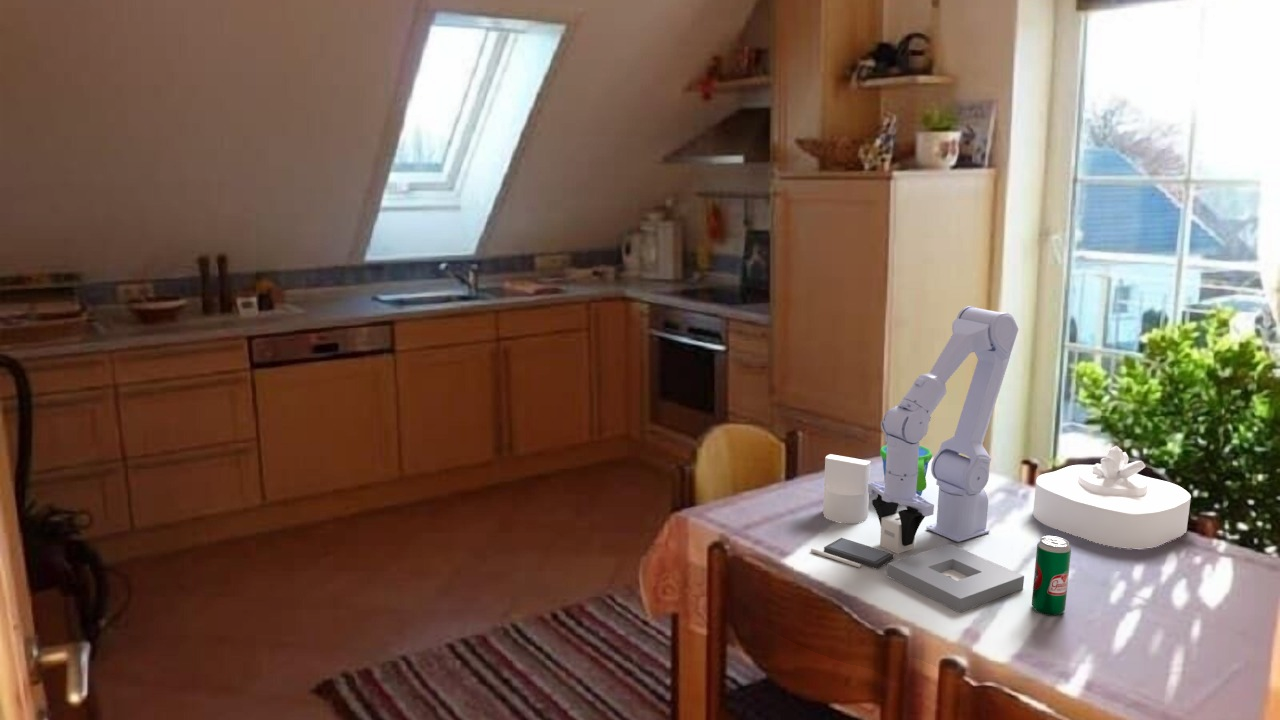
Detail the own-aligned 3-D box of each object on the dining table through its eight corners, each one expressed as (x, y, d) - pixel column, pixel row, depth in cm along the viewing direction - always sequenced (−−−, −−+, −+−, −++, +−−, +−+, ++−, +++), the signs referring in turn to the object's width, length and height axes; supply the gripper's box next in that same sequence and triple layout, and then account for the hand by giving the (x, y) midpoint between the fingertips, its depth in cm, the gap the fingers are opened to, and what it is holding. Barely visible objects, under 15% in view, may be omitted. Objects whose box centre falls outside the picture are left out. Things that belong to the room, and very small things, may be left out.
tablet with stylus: (832, 539, 186) (833, 534, 186) (893, 558, 177) (893, 553, 177) (810, 552, 180) (810, 546, 180) (871, 572, 172) (871, 566, 171)
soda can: (1050, 619, 155) (1056, 549, 152) (1024, 606, 159) (1030, 538, 156) (1071, 612, 157) (1078, 543, 154) (1045, 599, 161) (1052, 532, 159)
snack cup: (868, 482, 217) (871, 439, 215) (914, 481, 218) (917, 438, 215) (890, 508, 202) (893, 462, 200) (940, 507, 202) (943, 461, 200)
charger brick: (896, 540, 186) (898, 512, 184) (914, 548, 182) (915, 519, 181) (879, 545, 183) (881, 517, 182) (897, 553, 180) (898, 524, 178)
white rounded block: (873, 512, 200) (876, 457, 197) (858, 527, 192) (861, 469, 190) (832, 504, 204) (835, 450, 202) (816, 517, 197) (818, 461, 194)
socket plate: (948, 555, 179) (949, 543, 178) (1023, 588, 165) (1024, 575, 165) (886, 576, 170) (887, 563, 170) (959, 612, 157) (960, 598, 157)
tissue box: (1203, 528, 192) (1214, 451, 188) (1133, 558, 178) (1143, 475, 175) (1086, 491, 212) (1093, 421, 208) (1015, 515, 198) (1022, 440, 195)
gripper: (857, 464, 183) (854, 531, 186) (916, 486, 171) (911, 558, 174) (884, 457, 187) (880, 523, 190) (943, 479, 175) (938, 549, 178)
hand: (897, 539), depth 182 cm, fingers closed on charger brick, 4 cm apart
